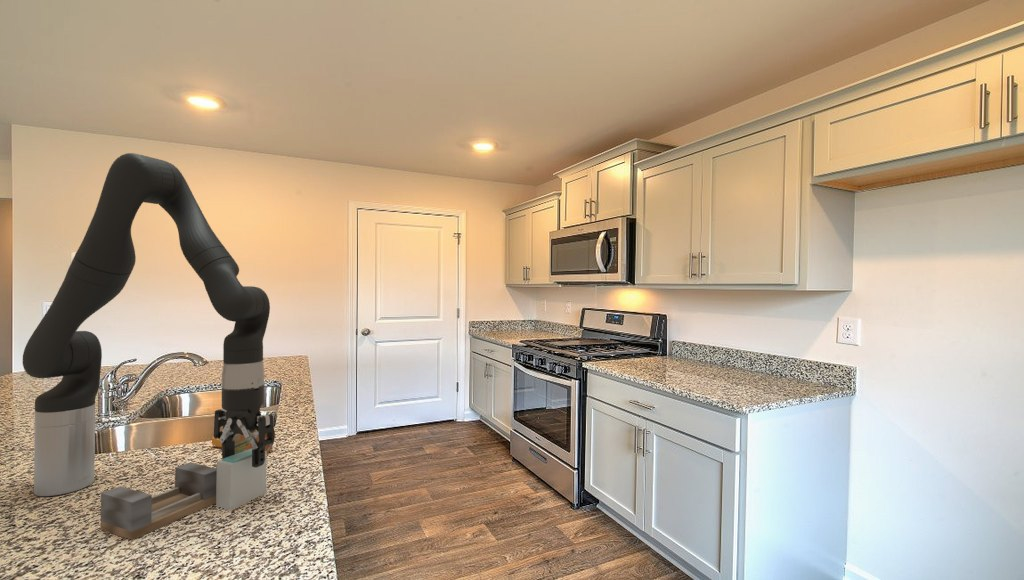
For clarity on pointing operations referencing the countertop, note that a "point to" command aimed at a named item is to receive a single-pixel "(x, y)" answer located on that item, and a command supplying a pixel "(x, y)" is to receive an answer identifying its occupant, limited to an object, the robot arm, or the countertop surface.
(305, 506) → the countertop surface
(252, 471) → the block
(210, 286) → the robot arm
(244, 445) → the tin
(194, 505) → the rack
